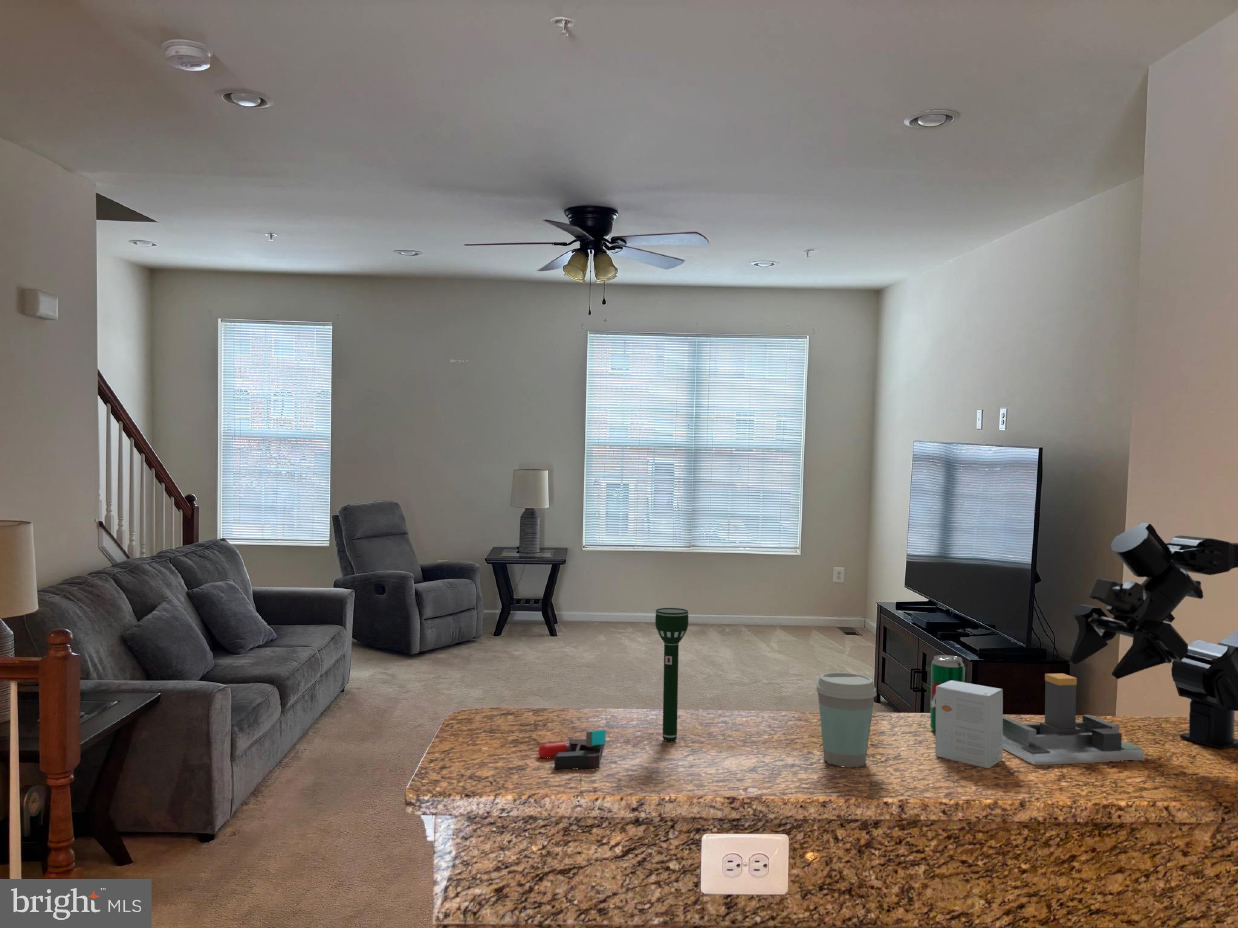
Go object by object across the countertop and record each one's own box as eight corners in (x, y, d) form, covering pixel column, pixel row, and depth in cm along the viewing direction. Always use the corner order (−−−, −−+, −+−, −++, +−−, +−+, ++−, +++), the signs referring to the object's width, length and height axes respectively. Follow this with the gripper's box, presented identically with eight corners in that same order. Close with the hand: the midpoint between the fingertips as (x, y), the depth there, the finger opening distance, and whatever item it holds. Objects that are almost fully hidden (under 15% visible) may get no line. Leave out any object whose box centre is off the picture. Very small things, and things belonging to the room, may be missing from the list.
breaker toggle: (1062, 732, 136) (1063, 672, 137) (1080, 740, 133) (1081, 678, 133) (1039, 733, 136) (1040, 673, 136) (1056, 741, 132) (1057, 679, 132)
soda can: (966, 737, 139) (967, 662, 139) (932, 735, 140) (934, 660, 140) (960, 728, 144) (961, 655, 144) (928, 726, 145) (929, 653, 145)
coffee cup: (879, 756, 129) (880, 675, 129) (870, 775, 121) (871, 688, 121) (821, 748, 132) (822, 668, 132) (808, 765, 124) (810, 680, 125)
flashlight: (648, 742, 133) (650, 611, 133) (659, 733, 138) (662, 606, 138) (680, 747, 131) (682, 614, 131) (690, 737, 136) (692, 609, 136)
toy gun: (608, 746, 132) (609, 714, 132) (602, 775, 120) (603, 739, 120) (544, 744, 133) (545, 712, 133) (532, 772, 121) (533, 737, 121)
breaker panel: (1082, 733, 142) (1083, 708, 142) (1144, 759, 129) (1144, 732, 129) (980, 737, 139) (981, 712, 139) (1033, 765, 126) (1034, 737, 126)
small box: (1003, 760, 128) (1004, 688, 128) (989, 769, 124) (990, 695, 124) (949, 747, 134) (950, 678, 134) (934, 756, 129) (935, 685, 130)
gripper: (1083, 555, 145) (1021, 622, 143) (1172, 568, 127) (1103, 645, 125) (1123, 602, 147) (1063, 669, 145) (1218, 622, 128) (1151, 699, 126)
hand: (1092, 669), depth 135 cm, fingers open, 9 cm apart
